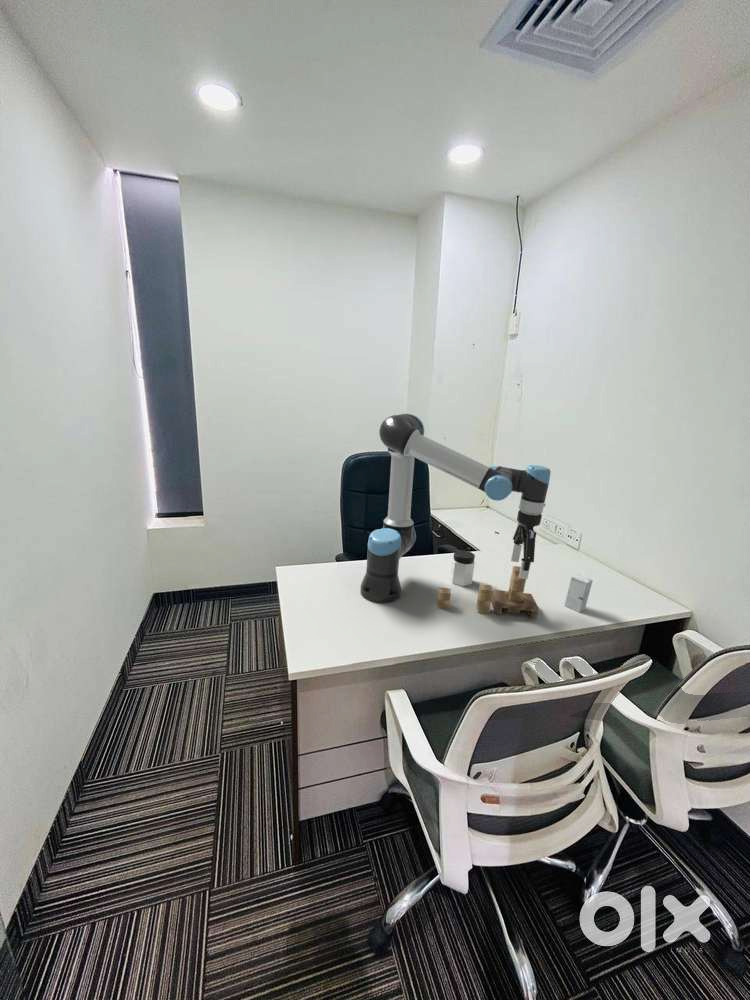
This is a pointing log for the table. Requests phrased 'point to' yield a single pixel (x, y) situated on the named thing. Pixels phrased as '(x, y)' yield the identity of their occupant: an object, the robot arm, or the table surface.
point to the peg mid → (484, 598)
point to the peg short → (444, 598)
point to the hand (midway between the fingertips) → (518, 569)
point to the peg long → (516, 588)
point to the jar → (462, 568)
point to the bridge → (514, 603)
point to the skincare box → (578, 592)
